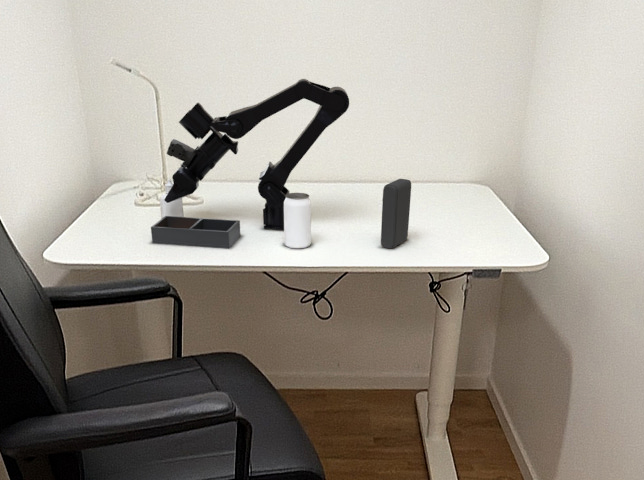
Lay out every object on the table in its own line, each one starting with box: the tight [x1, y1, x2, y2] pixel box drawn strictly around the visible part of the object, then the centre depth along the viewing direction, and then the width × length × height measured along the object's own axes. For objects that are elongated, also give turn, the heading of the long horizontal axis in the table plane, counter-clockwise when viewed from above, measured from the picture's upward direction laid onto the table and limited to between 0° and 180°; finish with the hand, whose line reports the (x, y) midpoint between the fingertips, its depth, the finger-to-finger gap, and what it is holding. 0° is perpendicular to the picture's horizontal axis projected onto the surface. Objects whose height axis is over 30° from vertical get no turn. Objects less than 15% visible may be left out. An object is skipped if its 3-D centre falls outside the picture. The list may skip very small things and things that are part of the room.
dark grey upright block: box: [380, 178, 412, 249], centre depth 179 cm, size 9×4×15 cm, turn 150°
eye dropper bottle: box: [159, 178, 185, 220], centre depth 190 cm, size 4×6×12 cm
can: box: [283, 192, 312, 250], centre depth 178 cm, size 6×6×12 cm
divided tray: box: [150, 216, 241, 249], centre depth 182 cm, size 10×19×4 cm, turn 80°
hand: (169, 196), depth 190 cm, fingers open, 9 cm apart
